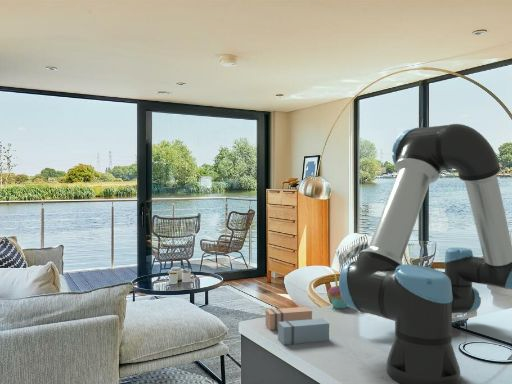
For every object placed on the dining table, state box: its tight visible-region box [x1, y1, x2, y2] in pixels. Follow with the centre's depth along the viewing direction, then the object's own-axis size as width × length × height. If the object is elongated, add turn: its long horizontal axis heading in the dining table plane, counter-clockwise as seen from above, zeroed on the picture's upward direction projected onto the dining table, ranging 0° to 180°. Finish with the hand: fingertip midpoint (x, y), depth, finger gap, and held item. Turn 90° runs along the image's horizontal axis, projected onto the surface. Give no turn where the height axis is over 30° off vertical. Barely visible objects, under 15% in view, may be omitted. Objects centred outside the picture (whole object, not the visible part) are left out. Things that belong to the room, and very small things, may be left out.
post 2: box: [277, 318, 330, 346], centre depth 118 cm, size 5×5×13 cm
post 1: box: [265, 306, 313, 331], centre depth 129 cm, size 5×5×13 cm
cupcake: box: [326, 272, 348, 309], centre depth 149 cm, size 9×8×12 cm
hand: (359, 308), depth 122 cm, fingers closed
